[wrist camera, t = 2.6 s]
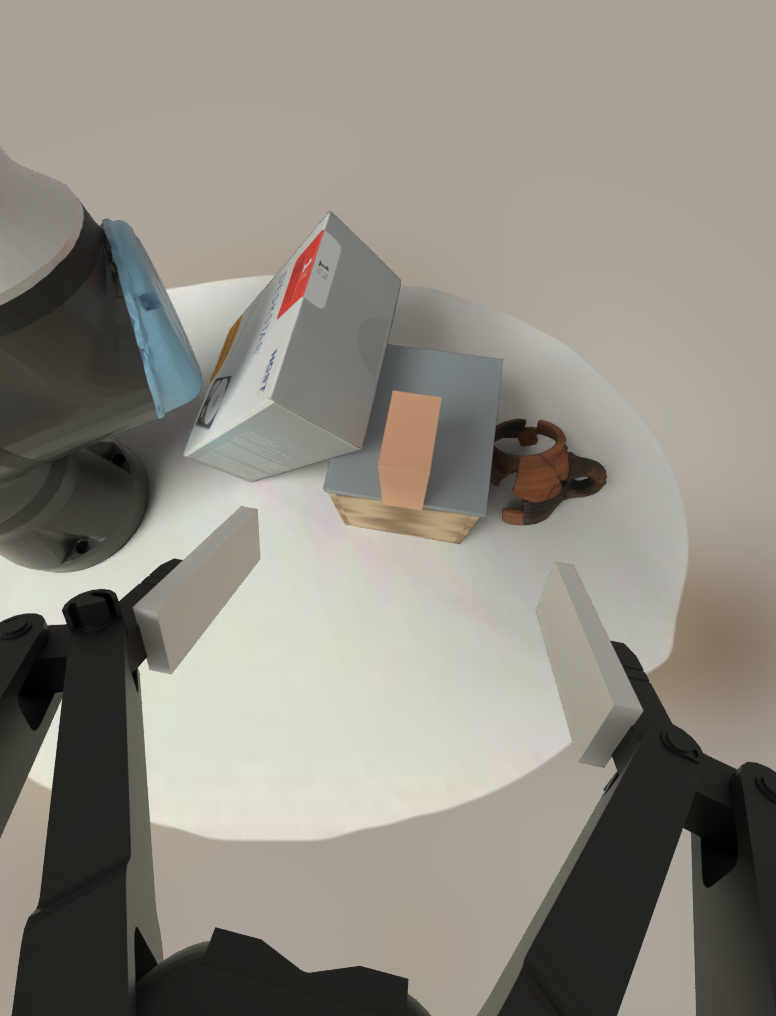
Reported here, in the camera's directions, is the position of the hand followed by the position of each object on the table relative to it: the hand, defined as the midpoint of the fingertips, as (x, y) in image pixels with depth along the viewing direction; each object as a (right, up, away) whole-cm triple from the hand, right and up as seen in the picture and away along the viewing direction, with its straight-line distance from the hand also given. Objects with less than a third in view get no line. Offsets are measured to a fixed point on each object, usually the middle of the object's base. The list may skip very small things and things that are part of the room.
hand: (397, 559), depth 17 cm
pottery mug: (+15, +5, +24) cm, 29 cm away
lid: (+2, +9, +15) cm, 17 cm away
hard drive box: (-17, +13, +25) cm, 33 cm away
